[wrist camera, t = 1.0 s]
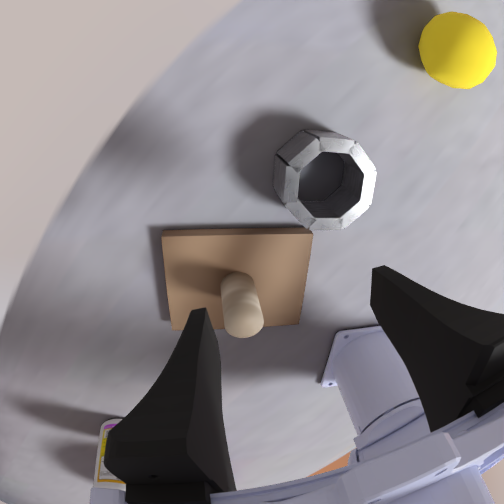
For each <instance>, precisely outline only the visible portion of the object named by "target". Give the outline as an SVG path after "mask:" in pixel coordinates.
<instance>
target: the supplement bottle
mask: <svg viewBox="0 0 504 504" xmlns="http://www.w3.org/2000/svg"><path fill="white" fill-rule="evenodd" d="M121 420H122V419H111V420H108V421H106V422H104V423H103V424H102V426H101V429H100V435H99V442H98V449H97V457H96V465H95V474H94V483H93V487H95V488H109V489H119V490H123V491H126V484H125V483H124V482H123V481H121V480H120V479H118V478H117V477H116V476H114V475H113V474H112V473H110V472H109V471H108V470H107V469H106V468H105V466H104V463H103V462H104V454H105V446H106V440H107V436H108V432H109V430H111V429H112V428H113V427H114V426H115V425H117V424H118V423H119V422H120V421H121Z"/></svg>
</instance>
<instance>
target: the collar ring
mask: <svg viewBox="0 0 504 504" xmlns="http://www.w3.org/2000/svg"><path fill="white" fill-rule="evenodd" d="M322 151H324V152H337V153H338V154H339V155H340V157H341V158H342V159H343V161H344V162H345V164H344V172H343V179H342V185H341V186H340V187H339V188H338V189H337V190H336V191H335V192H333V193H332V194H331V195H330V196H329V197H328V198H327V199H325V200H324V201H301V200H300V199H299V198H298V188H299V178H300V170H302V169H303V168H304V167H305V166H306V165H307V164H308V163H310V162H311V161H312V160H313V159H314V158H315V157H317V156H318V155H319V154H320V153H321V152H322ZM277 153H278V154H279V155H275V163H274V178H273V187H274V190H275V192H276V193H277V195H278V196H279V198H280V200H281V201H282V203H283V204H284V206H285V207H286V208H287V209H288V210H289V211H290V212H291V213H292V214H293V215H294V216H295V217H296V218H297V220H298V221H299V222H300V223H301V224H302V225H303V226H304V227H305V228H306V229H307V228H308V229H309V230H341V229H342V227H343V228H344V229H345V228H346V227H347V226H348V225H349V224H351V223H352V222H353V221H354V220H355V219H356V218H358V217H359V216H360V215H361V214H362V213H363V212H364V211H366V210H367V209H368V208H369V206H368V205H367V204H371V201H372V196H373V190H374V184H375V178H376V171H374V170H375V169H376V168H375V167H374V165H373V164H372V162H371V161H370V159H369V158H368V156H367V155H366V154H365V152H364V151H363V149H362V148H361V146H360V145H359V144H358V142H356V141H355V140H352V139H350V138H348V137H345V136H343V135H340V134H338V133H336V132H327V131H316V130H304V132H303V131H300V132H299V133H298V134H297V135H295V136H294V137H293V138H292V139H291V140H290V141H289V142H287V143H286V144H285V145H284V146H283V147H282V148H281V149H279V150H278V151H277Z"/></svg>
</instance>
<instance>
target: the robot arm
mask: <svg viewBox="0 0 504 504" xmlns="http://www.w3.org/2000/svg"><path fill="white" fill-rule="evenodd" d="M370 306H371V308H372V310H373V312H374V314H375V316H376V319H377V321H378V323H379V324H380V326H375V327H368V328H360V329H352V330H344V331H339V332H337V333H336V335H335V338H334V341H333V345H332V348H331V352H330V355H329V358H328V362H327V365H326V368H325V371H324V375H323V378H322V381H321V386H322V387H331V386H337V385H338V387H339V390H340V392H341V395H342V397H343V400H344V402H345V405H346V407H347V410H348V412H349V415H350V417H351V420H352V422H353V425H354V427H355V430H356V432H357V435H358V436H357V437H356V438H354V442H355V444H356V447H357V448H356V449H354V450H352V451H351V453H350V457H349V460H348V466H345V467H342V468H339V469H336V470H332V471H329V472H325V473H322V474H318V475H314V476H310V477H306V478H302V479H298V480H294V481H289V482H284V483H280V484H275V485H269V486H264V487H258V488H252V489H246V490H239V491H236V486H235V482H234V477H233V473H232V468H231V463H230V457H229V452H228V446H227V441H226V435H225V428H224V422H223V414H222V393H221V361H220V354H219V347H218V341H217V338H216V335H215V332H214V329H213V326H212V323H211V321H210V318H209V315H208V312H207V309H206V307H204V308H199V309H194V310H191V312H190V314H189V317H188V319H187V322H186V324H185V327H184V329H183V332H182V334H181V336H180V339H179V341H178V343H177V345H176V347H175V349H174V351H173V353H172V355H171V357H170V359H169V361H168V363H167V364H166V366H165V368H164V369H163V371H162V373H161V374H160V376H159V377H158V379H157V380H156V382H155V383H154V384H153V386H152V387H151V389H150V390H149V391H148V393H147V394H146V395H145V396H144V398H143V399H142V400H141V401H140V402H139V403H138V404H137V405H136V406H135V408H134V409H133V410H132V411H131V412H130V413H129V414H128V415H127V416H126V417H125V418H123V419H122V420H121V421H120V422H119V423H118V424H117V425H115V426H114V427H113V428H112V429H111V430H109V432H108V436H107V440H106V446H105V454H104V462H103V463H104V466H105V468H106V469H107V470H108V471H109V472H110V473H112V474H113V475H114V476H116V477H117V478H118V479H120V480H121V481H123V482H124V483H125V484H126V491H123V490H119V489H109V488H95V487H93V488H91V494H90V504H495V503H494V500H493V498H492V496H491V494H490V492H489V490H488V488H487V486H486V484H485V482H484V480H483V478H482V476H481V474H483V473H484V472H485V471H487V470H489V469H490V468H491V467H493V466H494V465H495V464H497V463H498V462H499V461H501V460H502V459H503V458H504V314H500V313H495V312H490V311H485V310H481V309H477V308H474V307H471V306H467V305H464V304H461V303H459V302H456V301H454V300H451V299H448V298H446V297H444V296H442V295H439V294H437V293H435V292H433V291H431V290H429V289H427V288H425V287H423V286H422V285H420V284H418V283H416V282H414V281H412V280H411V279H409V278H407V277H405V276H404V275H402V274H400V273H398V272H396V271H395V270H393V269H391V268H389V267H387V266H385V265H384V266H380V267H376V268H372V284H371V299H370ZM345 335H346V336H345Z"/></svg>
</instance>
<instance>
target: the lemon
mask: <svg viewBox="0 0 504 504" xmlns="http://www.w3.org/2000/svg"><path fill="white" fill-rule="evenodd" d="M418 47H419V51H420V56H421V61H422V63H423V65H424V68H425V70H426V72H427V73H428V74H429V75H430V76H431V77H432V78H434V79H435V80H437V81H438V82H440V83H442V84H445V85H447V86H450V87H452V88H462V89H470V88H472V87H474V86H476V85H478V84H480V83H482V82H483V81H484V80H485V79H486V78H487V76H488V75H489V74H490V72H491V71H492V70H493V68H494V67H495V63H496V55H497V50H496V47H495V44H494V40H493V37H492V35H491V34H490V32H489V31H488V29H487V27H486V26H485V25H484V24H483V23H482V22H480V21H479V20H477V19H475V18H473V17H471V16H470V15H468V14H463V13H457V12H447V13H443V14H439V15H436V16H434V18H433V19H432V20H431V21H430V22H429V23H428V24H427V25H426V26H425V27H424V29H423V31H422V34H421V38H420V42H419V45H418Z"/></svg>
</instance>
